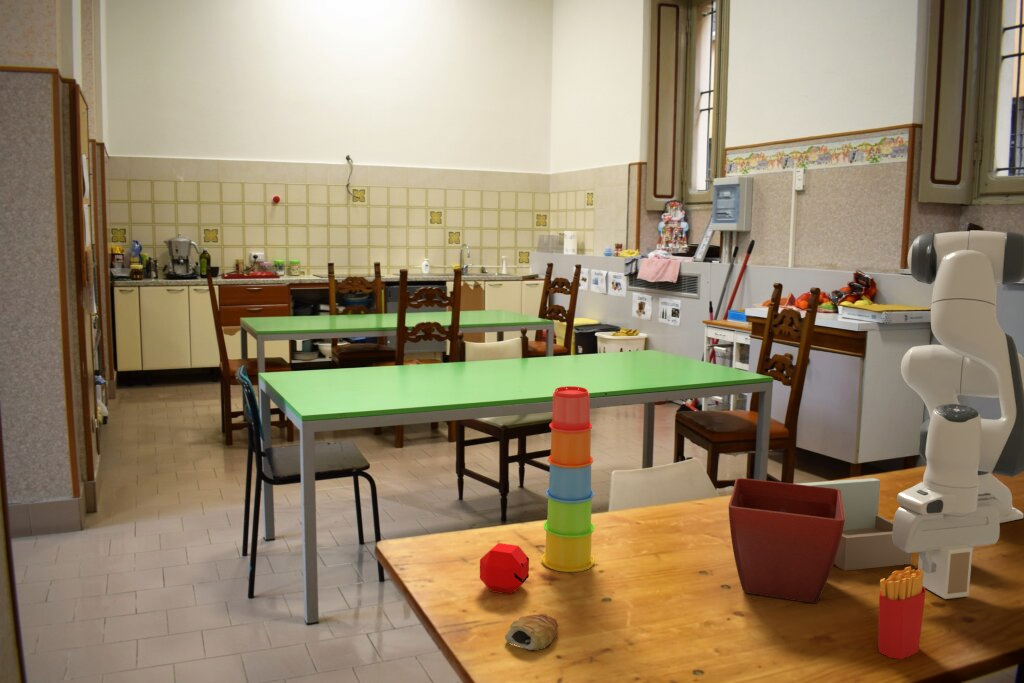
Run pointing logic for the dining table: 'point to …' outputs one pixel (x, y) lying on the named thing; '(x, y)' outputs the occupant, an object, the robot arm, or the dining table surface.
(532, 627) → the pastry
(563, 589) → the dining table surface
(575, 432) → the stacking cups
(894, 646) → the french fries
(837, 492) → the plant pot
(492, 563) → the ball
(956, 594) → the cabinet
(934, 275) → the robot arm
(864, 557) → the grey open box
